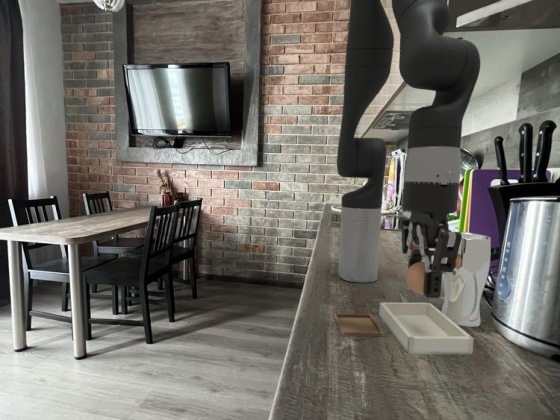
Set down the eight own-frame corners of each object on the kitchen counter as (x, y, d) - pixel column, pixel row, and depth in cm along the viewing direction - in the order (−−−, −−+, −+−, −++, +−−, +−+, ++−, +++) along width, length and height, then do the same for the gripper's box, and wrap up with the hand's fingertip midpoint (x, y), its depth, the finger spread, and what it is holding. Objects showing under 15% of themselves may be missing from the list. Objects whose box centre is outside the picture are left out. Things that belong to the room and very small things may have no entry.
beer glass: (442, 307, 60) (449, 230, 58) (485, 318, 55) (494, 235, 54) (433, 320, 54) (440, 235, 53) (480, 334, 50) (489, 242, 48)
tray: (378, 316, 55) (379, 302, 55) (428, 316, 56) (430, 302, 55) (408, 356, 43) (409, 338, 43) (472, 356, 44) (473, 338, 43)
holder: (333, 318, 54) (333, 313, 54) (370, 318, 55) (370, 313, 55) (341, 338, 48) (341, 333, 48) (384, 338, 48) (384, 333, 48)
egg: (399, 288, 51) (401, 258, 50) (429, 288, 51) (432, 258, 50) (413, 300, 46) (415, 267, 45) (446, 300, 46) (449, 267, 46)
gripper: (388, 178, 54) (382, 275, 55) (429, 179, 39) (420, 309, 41) (431, 179, 54) (424, 275, 56) (488, 181, 40) (476, 310, 41)
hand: (422, 289), depth 48 cm, fingers closed on egg, 5 cm apart
